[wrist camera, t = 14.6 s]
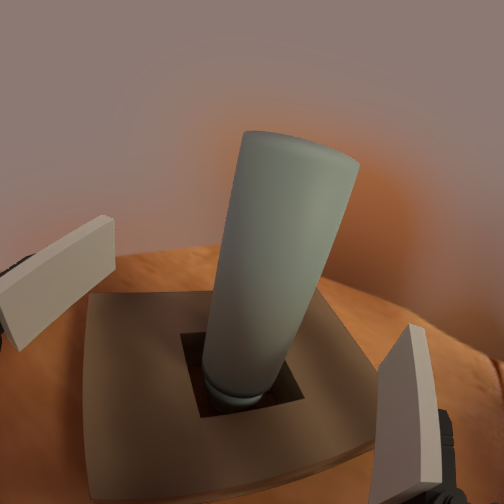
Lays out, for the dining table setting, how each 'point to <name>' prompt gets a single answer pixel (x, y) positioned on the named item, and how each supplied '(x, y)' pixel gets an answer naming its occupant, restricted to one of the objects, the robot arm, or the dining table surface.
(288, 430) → the board
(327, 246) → the grey rounded cylinder
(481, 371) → the dining table surface
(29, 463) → the dining table surface
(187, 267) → the dining table surface
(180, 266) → the dining table surface
